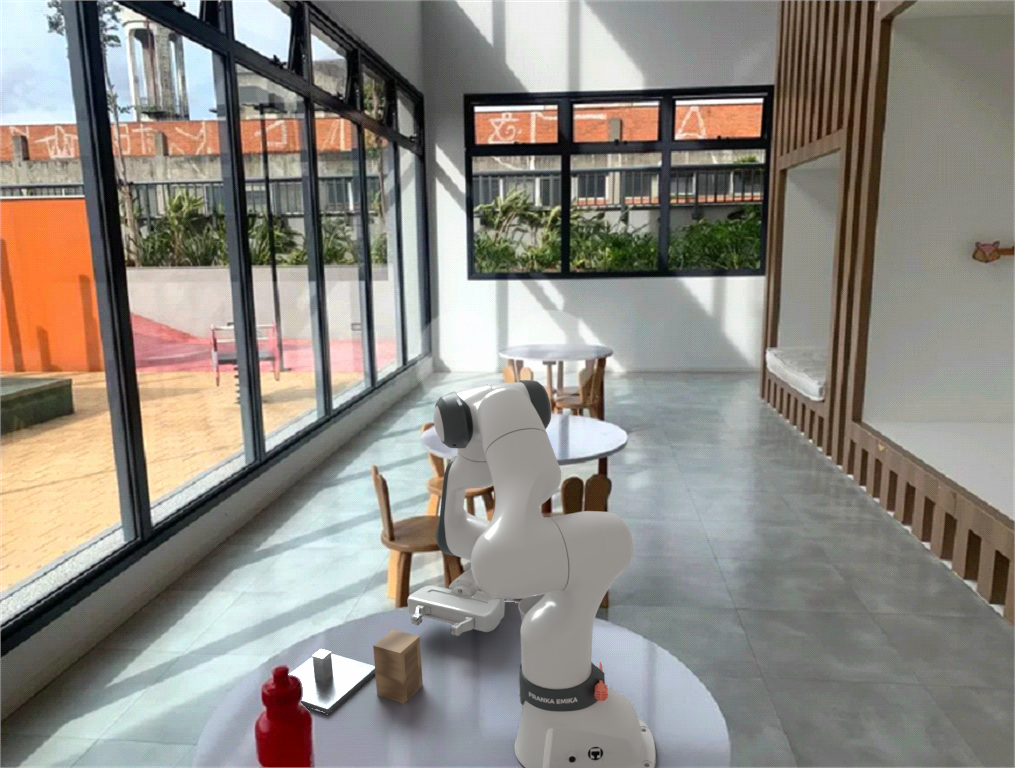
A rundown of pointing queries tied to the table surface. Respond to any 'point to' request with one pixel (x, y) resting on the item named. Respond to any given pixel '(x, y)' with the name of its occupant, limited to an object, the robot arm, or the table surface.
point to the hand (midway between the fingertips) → (433, 626)
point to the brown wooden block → (398, 665)
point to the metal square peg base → (330, 679)
